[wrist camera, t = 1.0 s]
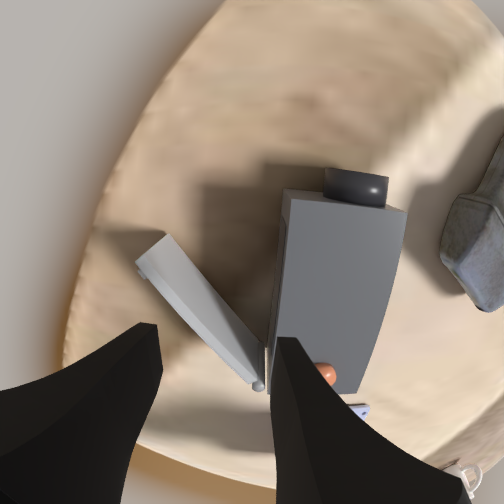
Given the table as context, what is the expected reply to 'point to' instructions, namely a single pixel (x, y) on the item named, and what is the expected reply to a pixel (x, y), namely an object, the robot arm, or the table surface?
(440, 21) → the table surface
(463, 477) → the mug
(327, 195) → the camera body
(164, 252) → the side door
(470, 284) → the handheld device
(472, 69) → the table surface
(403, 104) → the table surface
